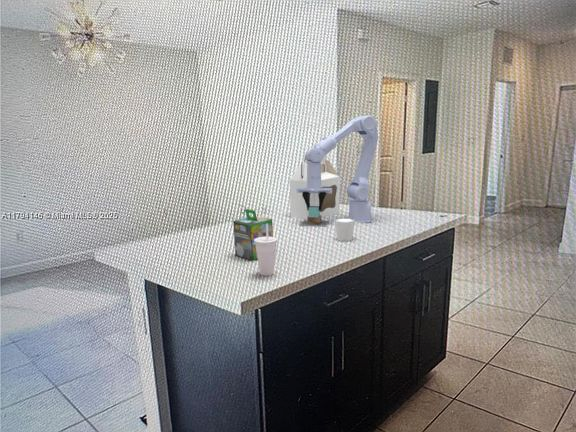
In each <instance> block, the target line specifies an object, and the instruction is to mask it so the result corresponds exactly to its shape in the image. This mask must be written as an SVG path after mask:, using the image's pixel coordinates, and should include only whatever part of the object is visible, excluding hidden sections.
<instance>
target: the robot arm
mask: <svg viewBox="0 0 576 432" xmlns="http://www.w3.org/2000/svg"><path fill="white" fill-rule="evenodd" d="M353 132H357V133H358V134H359V135H360V136H361V138H363V140H364V141H363V144H362V148H361V152H360V154H359V155H360V156H359V160H358V163H357V164H358V165H357V167H356V170H355V176H354V177H353V178H352V179H351V181H350V183H349V185H348V187H347V188H346V194H347V195H348V202H349V203H348V208H349V209H348V218H347V219H353V220H354V223H358V222H359V223H371V220H372V200H367V199H368V198H369V197H370V183H369V179H368V178H369V175H370V171H371V169H372V168H371V167H372V163H373V160H374V156H375V152H376V149H377V145H378V142H379V135H378V134H379V133H378V122H377V120H376V118H375V117H374V116H373V115H370V114H368V115H367V114H366V115H357V116H356V117H354V118H353V119H350V120H349V121H348V122H347V123H346V124H344V126H342V127H341V128H340V129H339V130H337V131H336V132H334V134H333V135H327V136H326V135H325V136H323V137H322V139H321V140H320V141H319V142H318V143H314V144H313V147H309V148H308V149H306V152H305V154H304V159H306V160H307V188H297V193H303V194H302V196H303V198H304V200H305V203H306V206H307V210H308V211H309V207H310V193H320V194H319V211H321V209H322V204H323V201H324V198H325V196H326V193H332V188H321V161H322V159H323V157H324V156H327V155H328V154H330V153H331V152H332V151H333V150H334V149H336V147H337V145H338V143H339V142H340V141H341V140H343V139H345V138H346V137H347V136H348V135H350V134H351V133H353ZM310 191H319V192H310Z"/></svg>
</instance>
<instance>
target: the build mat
mask: <svg viewBox="0 0 576 432" xmlns="http://www.w3.org/2000/svg"><path fill="white" fill-rule="evenodd" d="M329 223H330V220H321V224H320V225H308V222H307V219H304V220H302V222H301V223H300V224H299V225H298V227H314V228H315V227H317V228H319V227H320V228H326V227H327V225H328V224H329Z"/></svg>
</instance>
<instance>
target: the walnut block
mask: <svg viewBox="0 0 576 432" xmlns="http://www.w3.org/2000/svg"><path fill="white" fill-rule="evenodd" d="M306 220H307V222H308V225H320V224H321V221H322V218H321V215H320V216H319V217H318V218H316V217H309V216H308V217H307V219H306Z"/></svg>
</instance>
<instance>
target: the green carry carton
mask: <svg viewBox="0 0 576 432" xmlns="http://www.w3.org/2000/svg"><path fill="white" fill-rule="evenodd" d="M244 211H245V215H246V217H243V218H240V219H239V218H238V219H236V220H233V221H232V223H233V224H232V225H233V236H234V237H233V240H234V252H235V253H234V255H235V256H238V257H241V258H243V259H246V260H249V261H253V262H254V261H255V260H258V258H257V252H256V245H255V244H254V239H256V238H258V237H266V224H268V237H274V229H273V225H274V224H273V219H272V218H269V217H261V216H257V213H256V211H255V210H254V209H248V208H245V210H244ZM250 214H252V216H251V215H250Z"/></svg>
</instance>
